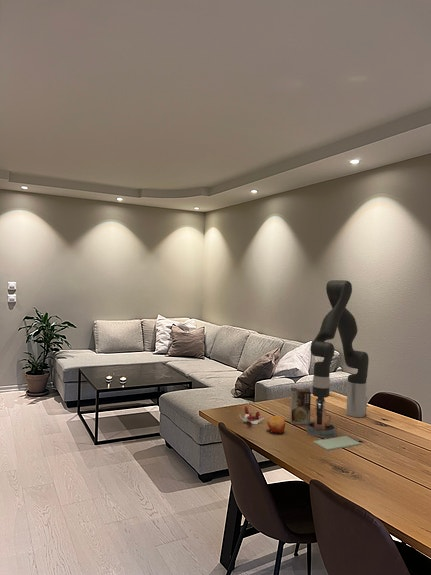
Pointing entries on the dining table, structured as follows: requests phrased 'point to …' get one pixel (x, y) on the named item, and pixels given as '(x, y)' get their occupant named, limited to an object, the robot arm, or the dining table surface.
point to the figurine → (251, 417)
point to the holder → (321, 431)
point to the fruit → (276, 424)
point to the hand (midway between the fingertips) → (319, 422)
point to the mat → (336, 443)
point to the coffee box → (300, 405)
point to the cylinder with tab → (322, 426)
